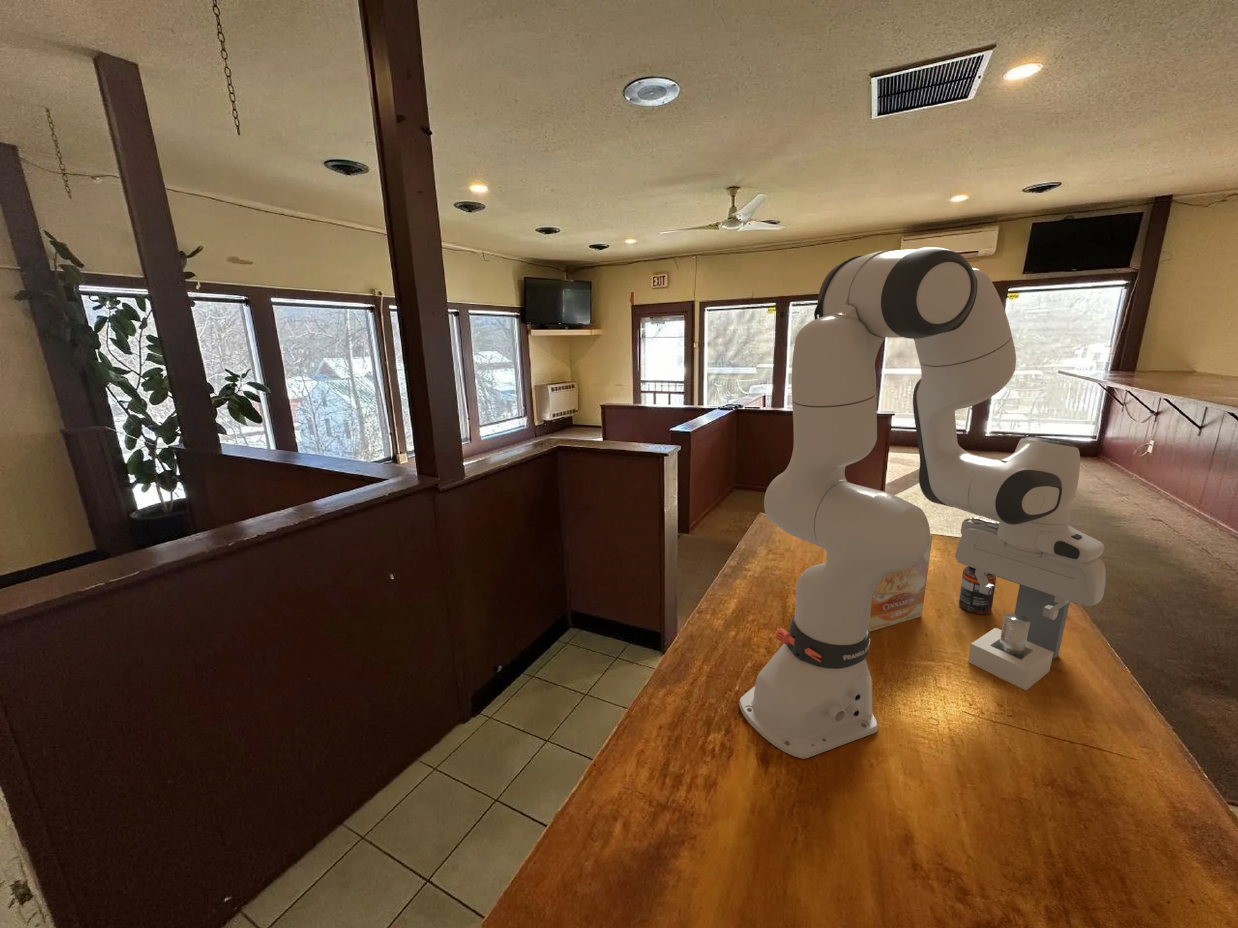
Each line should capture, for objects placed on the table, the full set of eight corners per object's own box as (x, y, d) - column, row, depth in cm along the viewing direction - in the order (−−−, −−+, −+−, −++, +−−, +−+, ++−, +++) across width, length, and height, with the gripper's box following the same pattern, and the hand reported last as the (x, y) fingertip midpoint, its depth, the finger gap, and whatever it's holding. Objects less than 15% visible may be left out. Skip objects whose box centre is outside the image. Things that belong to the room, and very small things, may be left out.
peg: (1015, 675, 87) (1024, 626, 84) (992, 664, 90) (1000, 617, 87) (1024, 668, 88) (1034, 620, 86) (1001, 657, 91) (1010, 610, 89)
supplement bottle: (980, 600, 110) (987, 555, 107) (997, 615, 104) (1005, 567, 101) (952, 600, 111) (959, 555, 108) (967, 615, 105) (975, 567, 102)
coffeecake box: (869, 632, 101) (877, 546, 96) (843, 615, 107) (850, 533, 102) (924, 617, 105) (934, 534, 100) (896, 600, 112) (905, 522, 107)
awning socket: (1036, 695, 82) (1053, 617, 78) (959, 657, 92) (970, 586, 88) (1075, 662, 89) (1092, 589, 85) (999, 630, 99) (1011, 564, 95)
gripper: (954, 517, 89) (943, 584, 93) (1103, 557, 72) (1083, 638, 76) (972, 511, 92) (960, 576, 96) (1118, 548, 75) (1098, 627, 79)
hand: (1015, 604), depth 86 cm, fingers open, 8 cm apart
